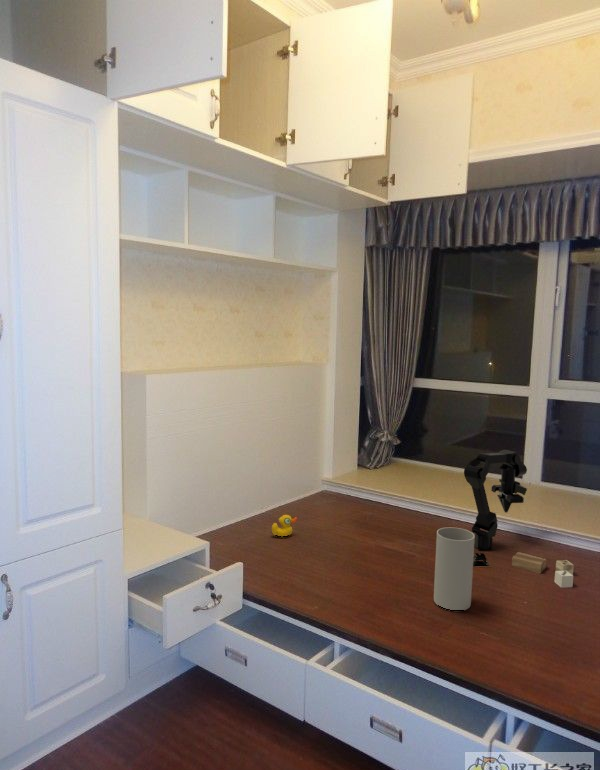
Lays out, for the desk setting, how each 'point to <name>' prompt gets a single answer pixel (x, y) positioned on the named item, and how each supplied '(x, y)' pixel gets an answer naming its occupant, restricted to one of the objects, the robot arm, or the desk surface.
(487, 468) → the robot arm
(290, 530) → the duckling
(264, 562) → the desk surface
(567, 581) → the off-white painted block
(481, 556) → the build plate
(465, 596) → the cylinder vase
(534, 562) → the tan wooden block
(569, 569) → the pale birch block
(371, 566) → the desk surface
